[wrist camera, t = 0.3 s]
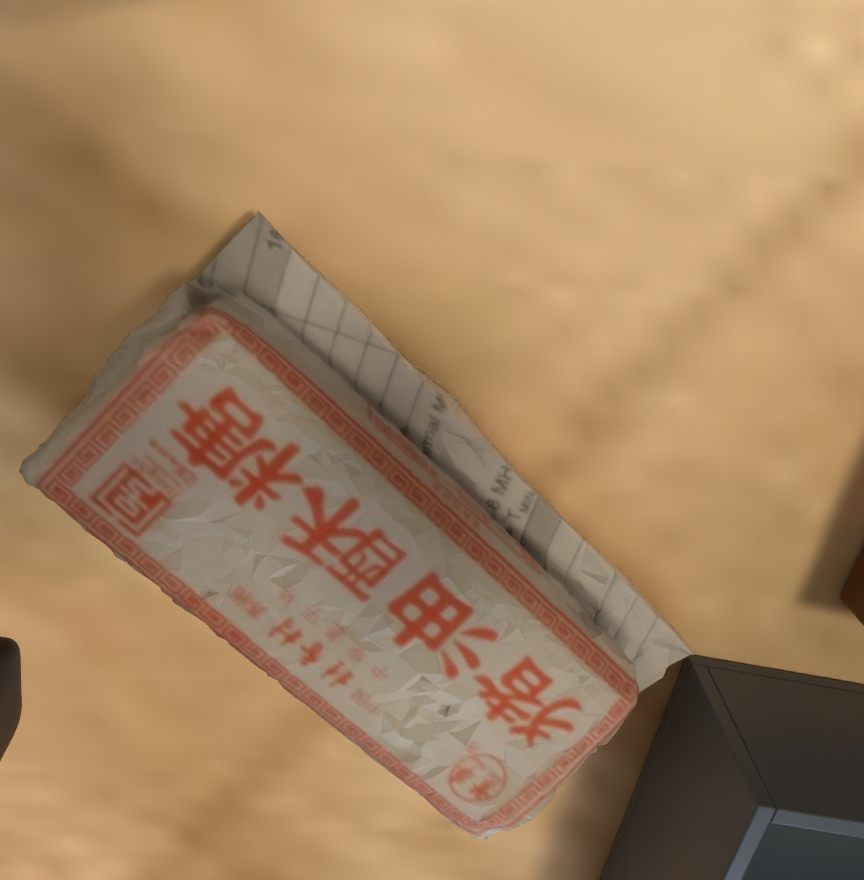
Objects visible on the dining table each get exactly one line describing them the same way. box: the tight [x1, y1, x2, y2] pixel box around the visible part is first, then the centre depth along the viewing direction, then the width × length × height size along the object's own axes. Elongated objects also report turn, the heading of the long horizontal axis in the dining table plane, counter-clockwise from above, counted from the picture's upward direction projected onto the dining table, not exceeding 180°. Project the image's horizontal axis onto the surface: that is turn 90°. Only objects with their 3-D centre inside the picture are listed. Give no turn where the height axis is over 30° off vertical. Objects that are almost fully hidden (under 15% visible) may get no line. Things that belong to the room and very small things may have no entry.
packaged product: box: [20, 211, 694, 839], centre depth 21 cm, size 18×5×10 cm
